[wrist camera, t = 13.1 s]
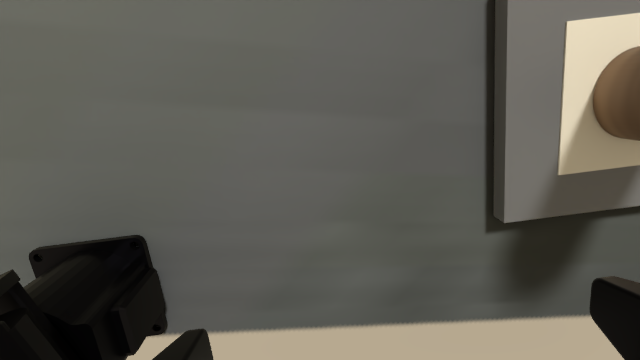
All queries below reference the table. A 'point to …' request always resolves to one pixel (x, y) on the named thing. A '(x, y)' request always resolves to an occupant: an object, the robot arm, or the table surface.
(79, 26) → the table surface
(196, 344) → the robot arm
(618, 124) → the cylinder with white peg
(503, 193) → the grey flat block
